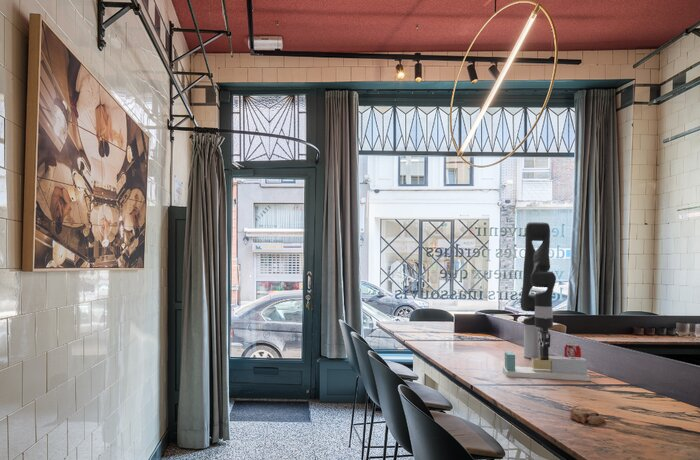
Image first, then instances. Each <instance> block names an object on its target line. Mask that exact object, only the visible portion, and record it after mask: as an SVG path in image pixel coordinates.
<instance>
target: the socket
mask: <svg viewBox="0 0 700 460" xmlns="http://www.w3.org/2000/svg"><path fill="white" fill-rule="evenodd" d="M504 366H505V368H506V369H507V371H515V367H516V355H515V353H514V352H513V351H509V350H508V351H504Z"/></svg>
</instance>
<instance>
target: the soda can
mask: <svg viewBox="0 0 700 460" xmlns="http://www.w3.org/2000/svg"><path fill="white" fill-rule="evenodd" d="M581 350H582V349H581V347H580V344H578V343H574V342H573V343H570V342H567V343H565V346H564V350H563V352H564V353H563V354H564V356H563V357H581V358H582V351H581Z"/></svg>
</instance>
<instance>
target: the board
mask: <svg viewBox="0 0 700 460" xmlns="http://www.w3.org/2000/svg"><path fill="white" fill-rule="evenodd" d="M502 372H503V373H504V375H505V377H511V378H526V379H527V378H532V379H547V380H549V379H550V380H564V381H565V380H566V381H567V380H568V381H584V382H585V381H586V382H590V381H591V375H589V374H588V373H587V374H568V373H552V372H551V371H550V370H546V369H533V368H532V366H531V367H530V366H515V371H507V369H506V368H505V365H502Z"/></svg>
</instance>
